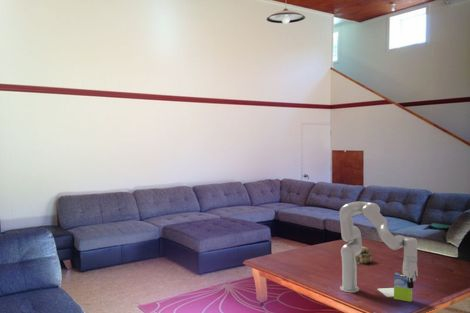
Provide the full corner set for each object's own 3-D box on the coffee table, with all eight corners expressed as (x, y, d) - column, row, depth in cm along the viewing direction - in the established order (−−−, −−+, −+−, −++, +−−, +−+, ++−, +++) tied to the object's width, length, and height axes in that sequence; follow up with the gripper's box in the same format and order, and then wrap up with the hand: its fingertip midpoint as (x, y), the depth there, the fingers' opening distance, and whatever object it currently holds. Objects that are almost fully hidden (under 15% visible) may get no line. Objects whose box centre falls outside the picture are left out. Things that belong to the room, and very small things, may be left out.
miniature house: (348, 260, 337) (348, 247, 337) (360, 258, 343) (360, 245, 343) (361, 265, 323) (361, 251, 323) (373, 263, 330) (373, 249, 329)
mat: (377, 289, 270) (377, 288, 270) (399, 288, 271) (399, 287, 271) (387, 297, 256) (387, 296, 256) (410, 296, 257) (410, 295, 257)
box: (412, 300, 251) (412, 273, 250) (411, 302, 247) (411, 275, 247) (394, 297, 256) (394, 270, 256) (393, 299, 252) (393, 272, 252)
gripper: (398, 254, 249) (398, 283, 249) (411, 261, 234) (410, 292, 235) (409, 254, 250) (409, 283, 250) (423, 261, 235) (422, 292, 235)
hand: (410, 287), depth 242 cm, fingers closed
